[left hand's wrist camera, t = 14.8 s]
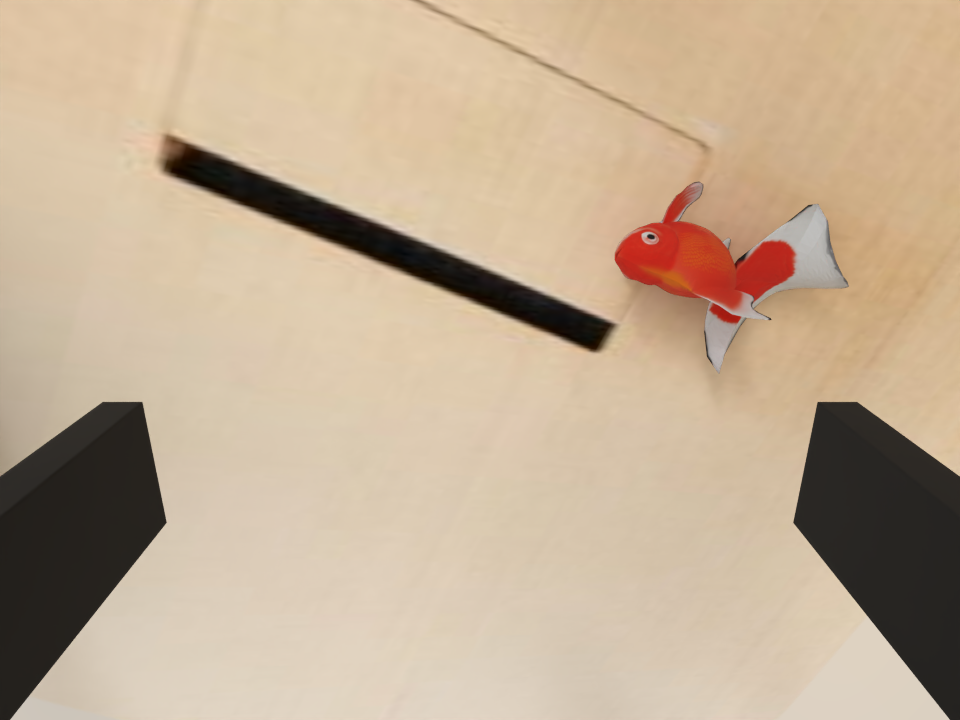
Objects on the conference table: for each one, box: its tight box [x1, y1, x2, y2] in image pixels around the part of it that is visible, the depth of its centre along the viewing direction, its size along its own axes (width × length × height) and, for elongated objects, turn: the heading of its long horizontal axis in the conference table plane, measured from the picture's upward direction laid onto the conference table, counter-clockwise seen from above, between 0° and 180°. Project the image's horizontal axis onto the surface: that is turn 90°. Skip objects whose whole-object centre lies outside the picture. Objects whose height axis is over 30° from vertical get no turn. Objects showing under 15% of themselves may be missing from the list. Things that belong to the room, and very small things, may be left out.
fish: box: [615, 182, 849, 373], centre depth 39 cm, size 11×16×10 cm
